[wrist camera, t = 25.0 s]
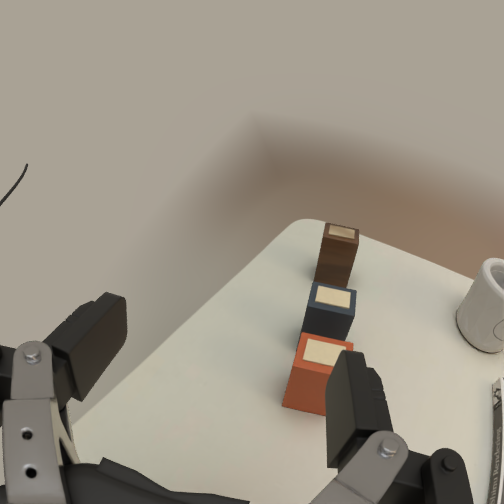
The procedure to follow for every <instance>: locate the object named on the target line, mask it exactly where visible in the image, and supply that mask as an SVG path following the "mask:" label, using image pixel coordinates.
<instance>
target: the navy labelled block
mask: <svg viewBox="0 0 504 504" xmlns="http://www.w3.org/2000/svg"><path fill="white" fill-rule="evenodd" d="M356 292H357V291H356V290H352V289H347V288H343V287H338V286H333V285H329V284H324V283H319V282H315V281H313V283H312V287H311V291H310V296H309V300H308V304H307V308H306V312H305V317H304V321H303V325H302V329H301V333H302V332H304V333H309V334H313V335H318V336H322V337H327V338H331V339H336V340H340V341H345V339H346V337H347V335H348V332H349V330H350V327H351V324H352V322H353V319H354V317H355V307H356ZM300 337H301V334H300ZM299 341H300V338H299ZM298 344H299V342H298ZM297 348H298V346H297ZM296 352H297V350H296Z"/></svg>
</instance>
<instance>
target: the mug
mask: <svg viewBox="0 0 504 504" xmlns="http://www.w3.org/2000/svg"><path fill="white" fill-rule="evenodd" d="M457 323H458V326H459V329H460V331H461V333H462V334H463V336H464V337H465V338H466V339H467V340H468V342H470V343H471V344H472V345H473V346H474V347H476V348H478V349H480V350H482V351H485V352H491V353H494V352H499V351H501V350H502V349H503V348H504V260H503V259H499V258H490V259H487V260H486V261H484V262H483V264H482V266H481V268H480V270H479V272H478V274H477V276H476V278H475V280H474V282H473V284H472V286H471V288H470V290H469V292H468V293H467V295H466V297H465V299H464V300H463V302H462V303H461V305H460V307H459V309H458V311H457Z"/></svg>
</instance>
